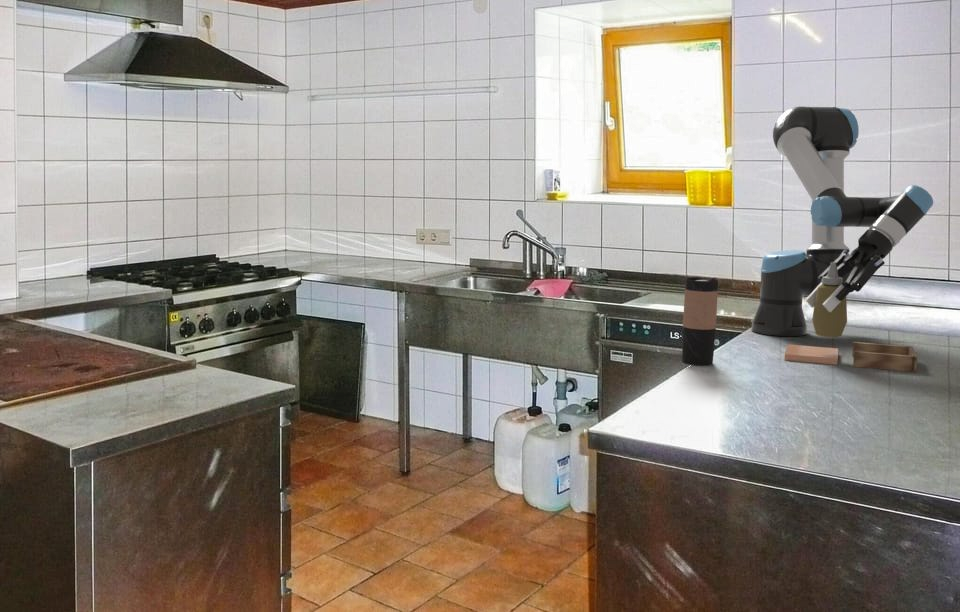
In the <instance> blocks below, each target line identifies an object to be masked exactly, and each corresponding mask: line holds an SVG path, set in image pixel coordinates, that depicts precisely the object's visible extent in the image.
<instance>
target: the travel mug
mask: <svg viewBox="0 0 960 612" xmlns="http://www.w3.org/2000/svg"><path fill="white" fill-rule="evenodd" d="M684 284H685V287H684V300H683V302H684V303H683V317H682V340H681V341H682V346H681V349H682V351H681V352H682V353H681V356H682V357H681V362H682V363H683V364H686V365H690V366H699V367H700V366H706V367H707V366H711V365H713V362H714V356H715V355H714V354H715V342H716V331H717V328H716V327H717V316H718V315H717V314H718V312H717V311H718V296H719V295H718V294H719V293H718V292H719V291H718V290H719V279H716V278H710V279H709V280H705V279H703V278H702V277H686V278H685V283H684Z"/></svg>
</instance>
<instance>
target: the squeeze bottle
mask: <svg viewBox="0 0 960 612" xmlns="http://www.w3.org/2000/svg"><path fill="white" fill-rule="evenodd" d="M842 282H843V278H841V277H838V271H837V265H836V262H831V264H830V268H829V271H828V274H827V276H825V277H822V284H824V285H820V286H819V287H818V289H817V294H816V300H815V306H814V307H813V311H812V312H813V313H812V320H811V322H812V325H813V328H814V332H815V334H816V335H817V336H821V337H825V338H838V337H842V335H843V333H844V330H845V328H846V325H847V323H848V307H847V306H848V305H847V296H846V297H845V298H844V299H843V300H842V301H841V302H840V303H839V304H838V305H837V306H836V307H835V308H834V309H833V310H832V311H831V312H828V310H827V309H826V308H825V307H824V306H823V303H824V302H825V301H826V300H827V299H828V298H829V297H830V295H831V294H832V293H833V292H834V291H835V290H836V289H837V288H838V287H839V286H840V285H842Z"/></svg>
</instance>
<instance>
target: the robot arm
mask: <svg viewBox="0 0 960 612" xmlns="http://www.w3.org/2000/svg"><path fill="white" fill-rule="evenodd" d="M859 130H860V129H859V123H858V119H857V118H856V116H855V114H854V113H853V112H852V111H851V110H850V109H848V108H843V107H837V106H833V107H830V106H824V107H823V106H795V107H792V108H790V109H787V110H786V111H785V112H783V113H782V114H781V115H780V116H779V118H777V120H776V122H775V123H774V127H773V130H772V138H773V140H772V141H773V143H774V146H775V148H776V149H777V151H778V153H779V154H780V155H781V156H784V157H786V159H787V161H788V162H789V164H790V165H791V167H792V169H793V170H794V172H795V174H796V175H797V177H798V179H799V180H800V183H802V186H803V187H804V189H805V190H806V192H807V194H808V196H810V198H811V205H810V215H811V244H810V246H808V247H807V248H806V251H804V250H800V249H798V250H797V249H796V250H795V249H793V250H790V249H789V250H787V249H786V250H777V251H772V252H769V253H768V252H767V254H765V255H764V256H763V258H762V263H761V268H760V288H759V289H760V290H759V291H760V292H759V305H758V307H757V309H756V311H755V314H754V316H753V320H752V322H751V331H752V332H754V333H758V334H762V335H768V336H769V335H770V336H779V337H798V336H800V337H801V336H805V335H807V332H808V331H807V330H808V325H807V321H806V318H805V313H804V310H803V297H806V298H805V299H804V300H805V302H806V303H807V304H808V305H809V307H810V308H813V309H814V306H815V300H816V294H817V289H818V287H819V286H820V285H824V284H822V277H825V276H827V274H828V271H829V268H830V264H831V262H836V265H837V271H838V277H841V278H843V282H842V285H840V286H839V287H838V288H837V289H836V290H835V291H834V292H833V293H832V294H831V295H830V297H829V298H828V299H827V300H826V301H825V302H824V303H823V306H824V307H825V308H826V309H827V310H828V312H831V311H832V310H833V309H834V308H835V307H836V306H837V305H838V304H839V303H840V302H841V301H842V300H843V299H844V298H845V297H846V298H847V297H848V295H849V294H850V293H853V292H854V291H855V292H857V293H858V292H860V291H861V290H862V289H863V288H864V286H865V285H866V284H867V283H868V282H869V280H870V279H871V278H872V277H873V276H874V275H875V273H876V272H877V271H878V270H879V269H880V268H881V267H883V266H884V265H885V263H886V262H885V261H884V260H883V259H885V258H886V257H887V256H888V255H889V254H890V253H891V252H892V251H893V248H894V247H896V246H897V245H898V244H899V243H900V241H902V239H903V238H904V237H905V236H907V234H908V233H909V232H910V231H911V230H912V229H914V227H915V225H916V224H918V222H920V220H921V219H923V218H924V217H925V216H926V215H927V212H929V210H930V209H931V208H932V207H933V205H934V199H933V197H932V194H930V193H929V192H928V191H927V190H926V189H925V188H923V187H922V186H919V185H916V184H915V185H914V184H911V185H908V186H907V187H906V188H904V189H903V190H902V191H901V193H900V194H899V195H895V196H886V197H867V196H866V197H862V196H860V197H859V196H847V195H846V193H845V181H844V180H845V167H844V166H845V159H846V158H847V157H848V156H849V155H850V149H853V148H854V147H855V145H856V144H857V141H858V140H857V139H858V138H859V133H860V131H859ZM845 227H850V228H851V227H852V228H853V227H854V228H856V227H857V228H860V227H861V228H862V227H863V228H868V229H866V231H865V232H864V233H862V235H861V236H860V237H859V238H858V241H857V242H858V244H857V247H855V248H854V249H853V250H852V251H850V250H851V249H850V247H848V246H847V245H846V244H845V237H844V236H845V234H844V232H845Z"/></svg>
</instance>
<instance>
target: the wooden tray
mask: <svg viewBox="0 0 960 612" xmlns="http://www.w3.org/2000/svg"><path fill="white" fill-rule="evenodd" d="M852 357H853V360H852V361H853V363H852V366H853V367H857V368H867V369H880V370H891V371H900V372H901V371H903V372H912V373H916V372H917V366H918V365H917V364H918V356H917V352H916V351H915V349H914V346H912V345H911V346H909V345H897V344H885V343H884V344H882V343H872V342H860V341H853V348H852Z"/></svg>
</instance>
